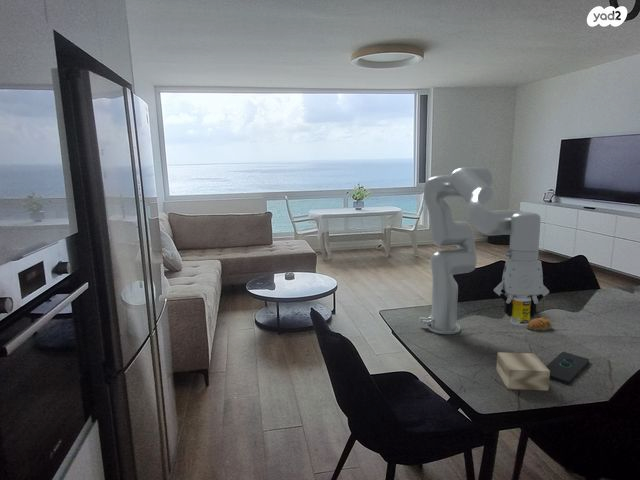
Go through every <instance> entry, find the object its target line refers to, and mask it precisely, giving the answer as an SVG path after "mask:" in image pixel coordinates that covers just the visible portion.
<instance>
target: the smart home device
mask: <svg viewBox="0 0 640 480" xmlns="http://www.w3.org/2000/svg"><path fill="white" fill-rule="evenodd" d="M589 364H590V359H589V358H587V357H582V356H580V355H577V354H573V353H569V352H566V351H562V352H560V353H559V354H558V355H557V356H556V357H555V358H554V359H552V360H551V361H550V362H549V363H548V364H547V365H545V366H546V367H547V368H548V369H549V370H550V378H549V380H551V381H555V382H558V383H561V384H565V385H567V386H568V385H570V384H572V382H574V380H575V379H577V377H578V376H579V375H580V374H581V373H582V372H583V371H584V369H585V368H586V367H587V366H588V365H589Z"/></svg>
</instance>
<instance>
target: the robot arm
mask: <svg viewBox="0 0 640 480" xmlns="http://www.w3.org/2000/svg"><path fill="white" fill-rule="evenodd" d="M493 180H494V179H493V175H492V172H491V171H490V170H489V169H488V168H486V167H484V166H475V167H474V166H472V167H471V166H467V167H466V166H463V167H459V168H456V169H455V170H453V171H452V172H451V173H450V174H448V175H447V174H446V175H441V174H440V175H435V176H432V177H429V178H428V179H427V180H426V182H425V184H424V186H423V197H424V202H425V205H426V208H427V210H428V211H427V212H428V217H429V226H430V233H431V240H432V244H434V245H435V246H436V247H440V248H441V247H455V246H456V249H442V250H438V251H435V252H434V253H433V254H432V255H431V257H430V268H431V269H430V270H431V276H432V277H431V278H432V280H431V282H432V283H431V285H432V286H431V288H432V289H431V290H432V291H431V314H429V316H427V317H420V316H419V318H418V320H419V323H422V324H423V325H426V328H427V329H428V330H429V331H430V332H433V333H436V334H440V335H454V334H458V333H459V332H460V331H461V326H460V324H458V323H457V317H458V316H457V315H458V294H459V285H458V283H457V281H456V280H455V278H454V275H459V274H467V273H471V272H473V271H474V270H476V266H477V262H478V261H477V260H478V259H477V252H476V251H477V250H476V242H475V234H474V231H473V228H472V225H473V227H474V228H476V230H478V231H479V232H480V233H481V234H483V235H485V236H492V237H494V236H502V235H503V236H504V235H507V236H508V235H509V248H508V250H507V251H504V252H503V256H504V257H508V258H506V259H505V260H506V261H505V263H504V268H503V272H502V279H501V282H500V283H499V284H497V285H496V287H494V288H493V292H494V293H495V294H496V295H498V296H499V297H500V298H501V299H502V301H504V307H503V309H504V313H505V314H506V315H507V317H508V318H509V317H511V316H512V303H511V300H512V298H513V295H528V296H530V297H531V310H530V318H535V314H536V313H537V305H538V304H539V302H540V301H541V300H542V299H544V297H546V296H547V295H548V294H549V293H550V290H549V289H548V288H547V286H545V285H544V281H543V280H544V277H543V276H544V275H543V266H542V261H541V260H539V247H540V246H539V245H540V236H541V235H540V233H541V221H542V219H541V216H540V215H539V213H536V212H526V211H522V210H520V209H495V210H494V209H493V210H489V209H488V208H487V207H486V206H487V205H488V204H489V203H490V201H491V200H492V198H493V195H494V193H493V189H492V187H491V186H492V184H493ZM447 198H449V199H450V198H451V199H452V198H453V199H454V198H463V200H464V201H465V202H466V203H467V209H466V210H467V217H468V219H469V222H471V224H472V225H470V223H468V222H467V221H464V220H458V221H457V220H456V221H455V220H454V219H453V212H452V209H451V206H450V205H449V203H448V202H447V201H446V200H445V199H447ZM502 290H503V291H504V293H503V292H502ZM504 294H505V295H504Z"/></svg>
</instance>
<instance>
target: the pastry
mask: <svg viewBox="0 0 640 480" xmlns="http://www.w3.org/2000/svg"><path fill="white" fill-rule="evenodd" d="M526 328H527V329H528V330H532V331H535V332H536V330H542V331H548V329H549V330H552V328H553V325H552V322H551V320H550V319H549V318H547V317H539V318H538V317H537V318H533V319H531V320H530V322H529V324H528V325H526Z"/></svg>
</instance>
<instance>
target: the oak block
mask: <svg viewBox="0 0 640 480" xmlns="http://www.w3.org/2000/svg"><path fill="white" fill-rule="evenodd" d="M546 366H547V365H545V363H543V362H542V360H541V359H540V358H539V357H538V356H537V354H536V353H530V352H529V353H528V352H500V351H499V352H497V354H496V368H495V369H496V371H497V373H498V375H499V376H500V377H499V378H501V380H502V381H503V383H504V384H505V387H506V388H507V389H508V390H527V391H529V390H530V391H546V392H547V391H549V387H550V379H549V378H550V370H549V369H548V368H547V367H546Z"/></svg>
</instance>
